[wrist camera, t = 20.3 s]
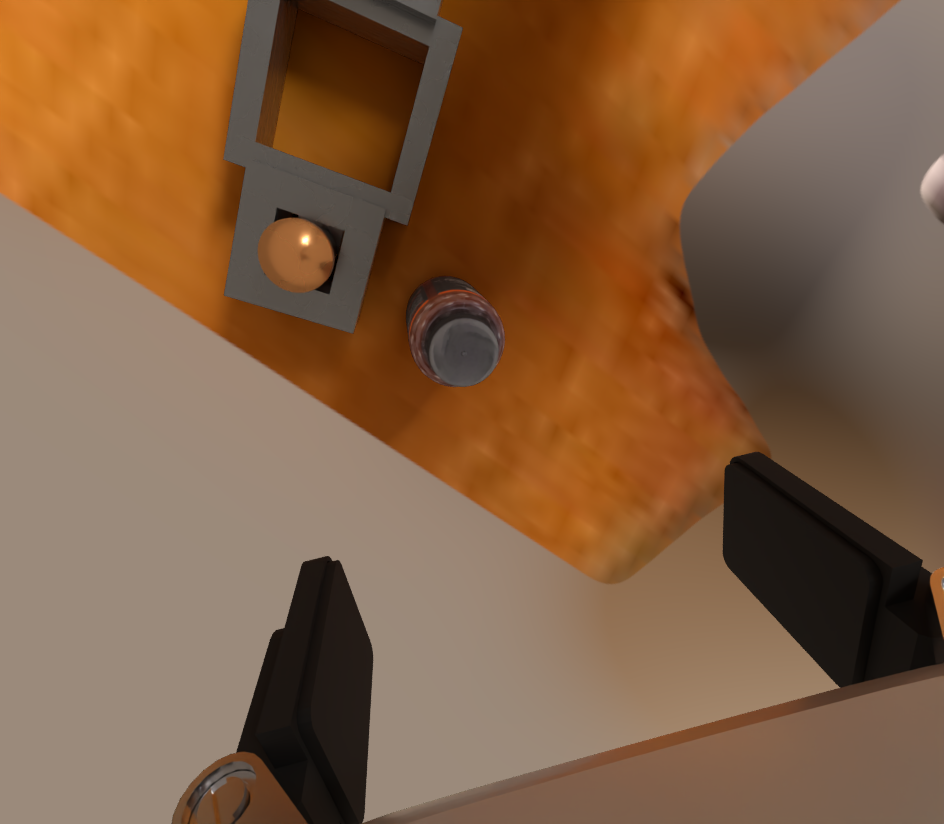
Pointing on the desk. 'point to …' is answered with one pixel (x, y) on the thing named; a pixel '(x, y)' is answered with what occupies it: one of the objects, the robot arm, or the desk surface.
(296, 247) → the plunger
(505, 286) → the desk surface
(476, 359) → the supplement bottle
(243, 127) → the housing
